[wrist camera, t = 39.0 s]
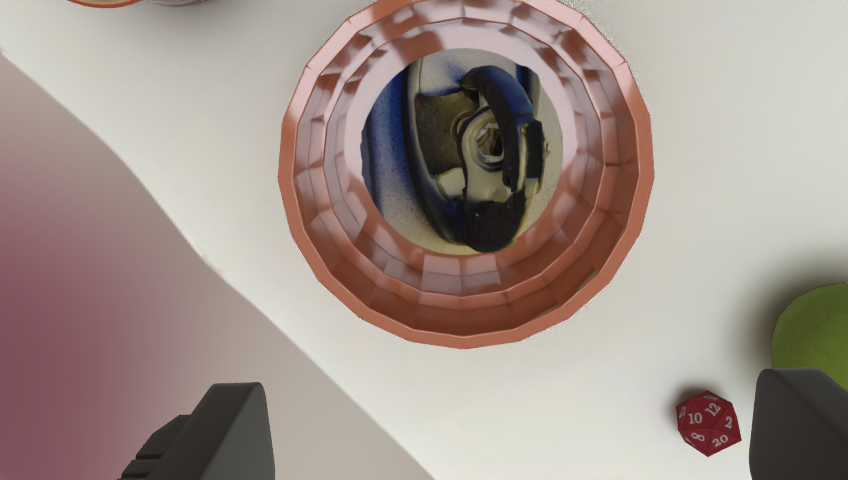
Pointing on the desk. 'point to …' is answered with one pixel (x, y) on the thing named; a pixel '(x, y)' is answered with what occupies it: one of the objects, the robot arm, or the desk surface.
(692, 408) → the dice
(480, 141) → the blue cream rounded piece
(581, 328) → the desk surface
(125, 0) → the mug
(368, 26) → the bowl
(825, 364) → the apple
